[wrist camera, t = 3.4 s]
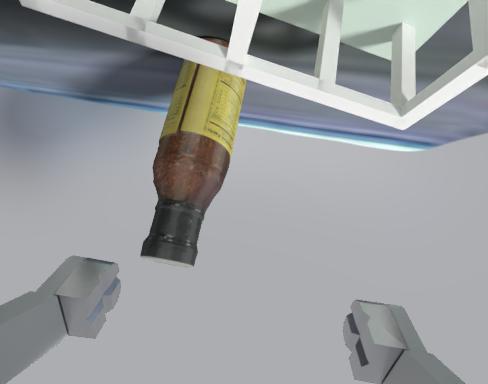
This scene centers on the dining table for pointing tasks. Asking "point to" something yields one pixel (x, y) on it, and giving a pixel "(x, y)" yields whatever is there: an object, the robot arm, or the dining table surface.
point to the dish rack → (331, 34)
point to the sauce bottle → (192, 158)
